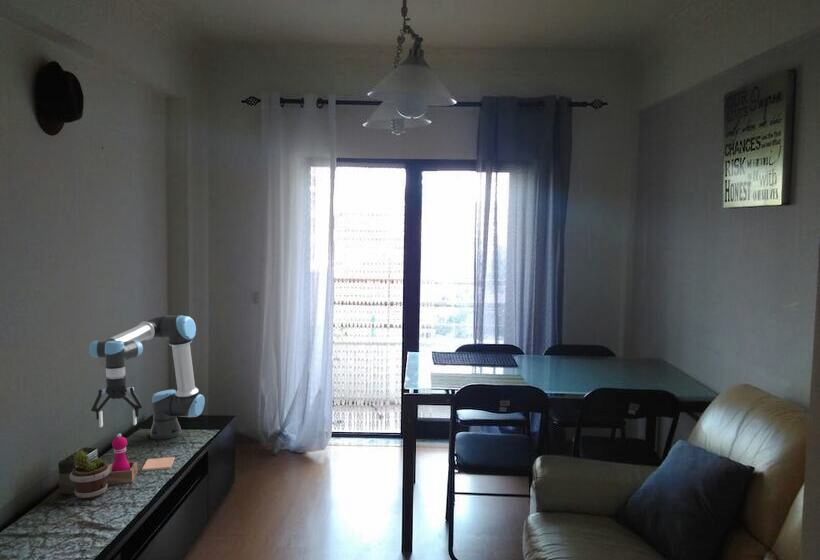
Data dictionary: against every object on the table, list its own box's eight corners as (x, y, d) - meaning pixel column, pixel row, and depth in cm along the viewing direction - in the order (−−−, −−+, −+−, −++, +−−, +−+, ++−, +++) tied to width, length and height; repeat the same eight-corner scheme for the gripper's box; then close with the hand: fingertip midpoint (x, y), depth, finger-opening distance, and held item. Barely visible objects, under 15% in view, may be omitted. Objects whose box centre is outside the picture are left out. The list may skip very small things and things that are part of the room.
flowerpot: (117, 486, 263) (115, 440, 261) (100, 502, 248) (98, 453, 246) (82, 487, 263) (79, 441, 261) (63, 503, 247) (60, 454, 246)
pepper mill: (126, 473, 277) (124, 429, 275) (133, 478, 271) (130, 433, 270) (109, 478, 272) (107, 433, 270) (115, 483, 266) (113, 437, 265)
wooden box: (111, 474, 276) (110, 463, 275) (137, 472, 278) (137, 461, 278) (104, 484, 265) (103, 473, 265) (132, 482, 267) (131, 470, 267)
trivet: (147, 460, 291) (147, 459, 291) (174, 458, 294) (174, 457, 294) (142, 470, 280) (141, 469, 280) (170, 468, 282) (170, 466, 282)
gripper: (81, 380, 261) (84, 430, 263) (145, 377, 266) (147, 425, 268) (87, 376, 269) (89, 424, 270) (148, 373, 274) (150, 420, 275)
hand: (118, 425), depth 269 cm, fingers open, 13 cm apart
